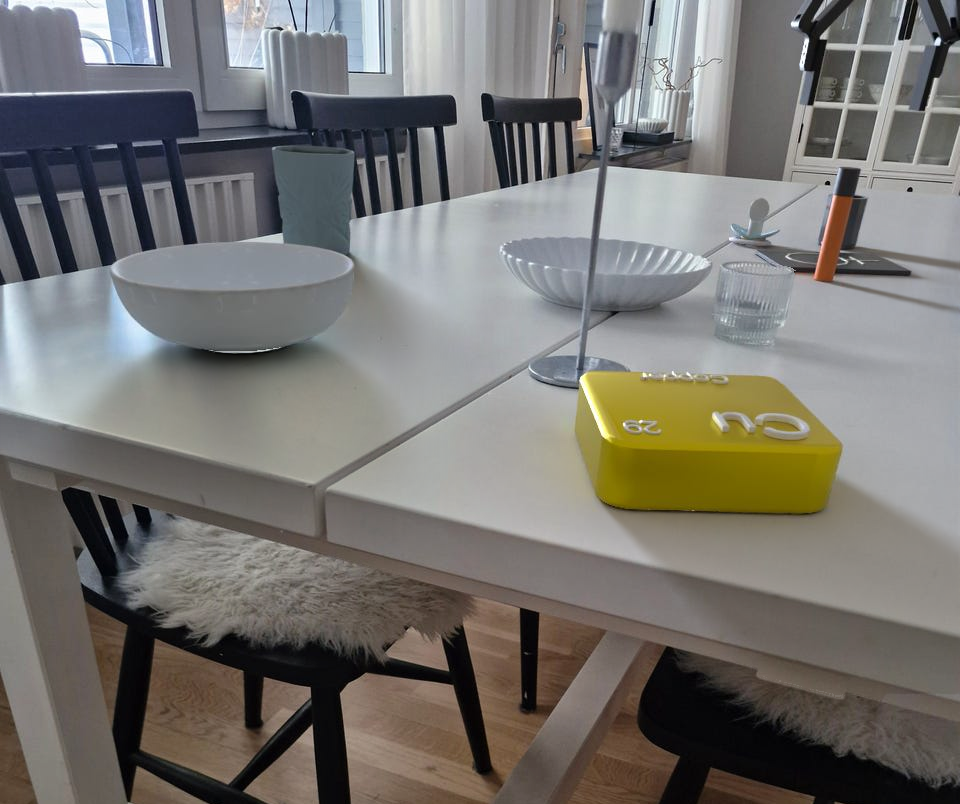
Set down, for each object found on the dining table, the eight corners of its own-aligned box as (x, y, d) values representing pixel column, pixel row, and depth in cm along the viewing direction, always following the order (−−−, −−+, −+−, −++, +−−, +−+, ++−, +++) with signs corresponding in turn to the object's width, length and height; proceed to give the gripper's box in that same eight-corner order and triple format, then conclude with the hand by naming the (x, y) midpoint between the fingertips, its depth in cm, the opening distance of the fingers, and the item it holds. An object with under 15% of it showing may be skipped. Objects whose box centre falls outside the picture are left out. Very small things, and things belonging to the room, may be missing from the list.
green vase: (263, 251, 117) (254, 147, 111) (317, 241, 124) (311, 143, 118) (320, 263, 113) (315, 155, 106) (373, 252, 120) (370, 150, 113)
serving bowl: (249, 302, 95) (242, 232, 91) (402, 340, 85) (401, 263, 81) (74, 342, 80) (57, 260, 76) (234, 393, 71) (224, 302, 67)
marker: (829, 277, 118) (856, 167, 111) (836, 282, 116) (864, 169, 109) (809, 277, 118) (835, 166, 111) (817, 281, 116) (843, 168, 109)
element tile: (765, 430, 68) (779, 368, 66) (836, 517, 56) (857, 444, 53) (570, 425, 68) (576, 361, 65) (599, 511, 55) (608, 437, 53)
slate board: (873, 257, 132) (874, 252, 131) (910, 275, 122) (912, 270, 121) (754, 253, 130) (755, 248, 130) (781, 271, 120) (782, 265, 120)
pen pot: (846, 243, 141) (858, 194, 138) (861, 249, 137) (874, 199, 133) (812, 241, 141) (823, 192, 137) (825, 248, 136) (837, 198, 132)
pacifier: (769, 251, 134) (779, 244, 138) (778, 205, 130) (788, 199, 134) (721, 244, 136) (732, 238, 141) (729, 199, 133) (740, 194, 137)
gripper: (1010, -112, 99) (946, 110, 111) (791, -126, 97) (750, 101, 109) (1049, -122, 93) (977, 114, 105) (816, -138, 91) (769, 104, 103)
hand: (861, 108), depth 107 cm, fingers open, 13 cm apart
